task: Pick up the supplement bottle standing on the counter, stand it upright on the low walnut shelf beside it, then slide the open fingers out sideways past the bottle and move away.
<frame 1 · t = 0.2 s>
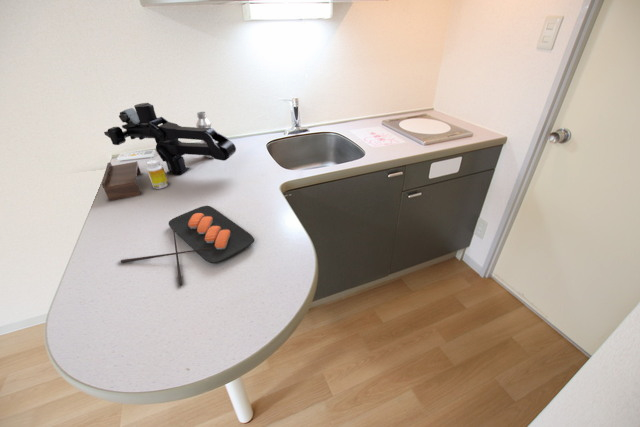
hand: (113, 129, 127), 16 cm above the countertop, tool horizontal, fingers open, 9 cm apart
plastic bottle: (211, 156, 144), on the countertop
sushi plate: (186, 248, 88), on the countertop
shelf: (126, 186, 121), on the countertop
supplement bottle: (161, 186, 120), on the countertop
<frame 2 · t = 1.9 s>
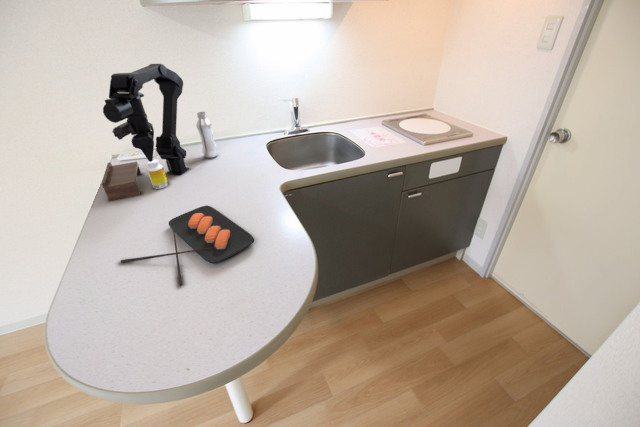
hand: (151, 156, 113), 12 cm above the countertop, tool pointing down, fingers open, 9 cm apart
nothing on the countertop moved.
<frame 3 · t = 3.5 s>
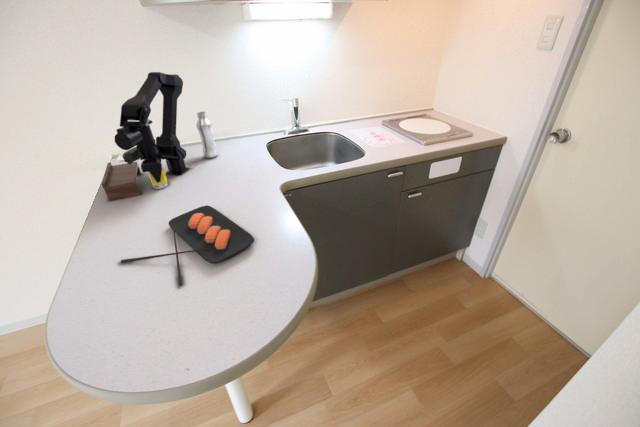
hand: (158, 178, 118), 3 cm above the countertop, tool pointing down, fingers closed on supplement bottle, 5 cm apart
supplement bottle: (161, 186, 120), on the countertop, touching gripper
everything else where it was.
when the fingers open (9 cm above the countertop, at t = 7.5 s): supplement bottle stays where it is, resting on shelf.
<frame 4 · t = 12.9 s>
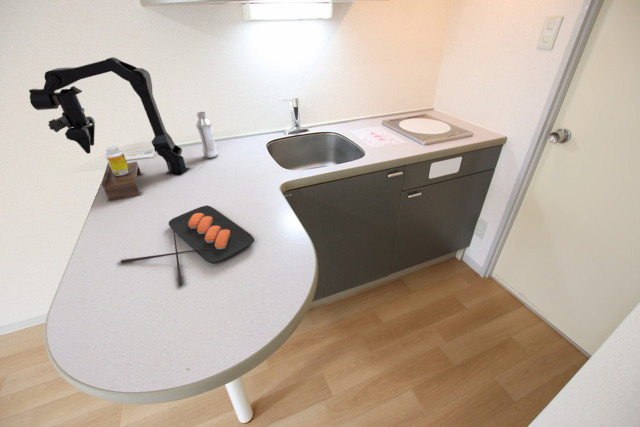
hand: (90, 149, 119), 13 cm above the countertop, tool pointing down, fingers open, 9 cm apart
supplement bottle: (122, 173, 118), point 5 cm above the countertop, touching shelf
everything else where it was.
at the end: supplement bottle inside the target area on the shelf (0.4 cm from its centre), point 5.3 cm above the shelf's base; supplement bottle tilted 0°; the gripper is holding nothing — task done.
